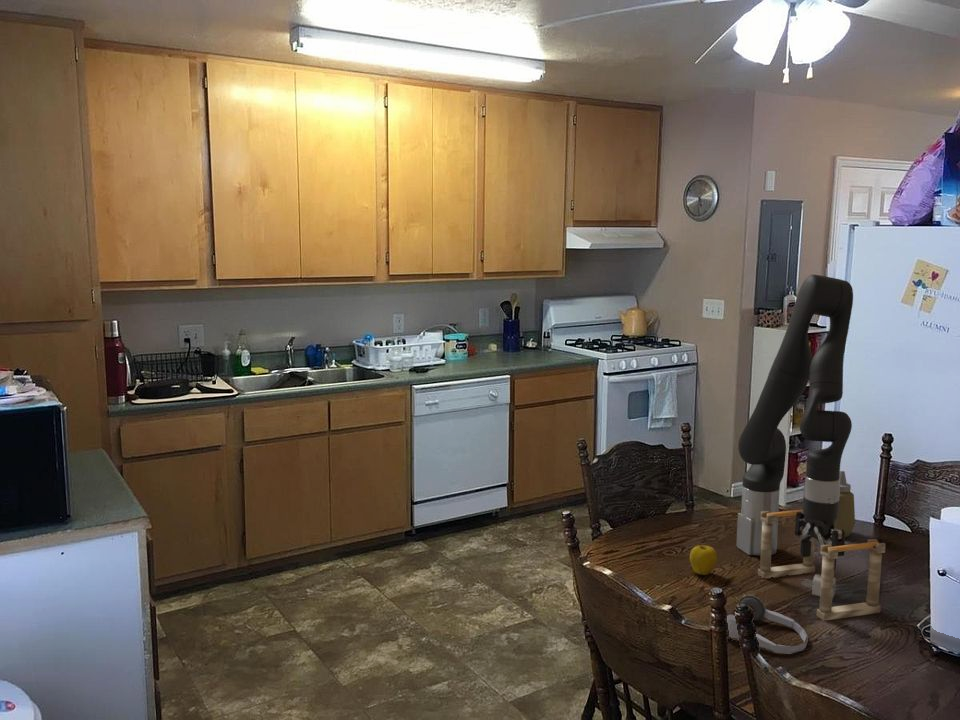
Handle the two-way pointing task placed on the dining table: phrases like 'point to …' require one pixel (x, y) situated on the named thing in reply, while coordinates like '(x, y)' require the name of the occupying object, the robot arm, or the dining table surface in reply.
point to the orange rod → (854, 546)
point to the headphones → (770, 615)
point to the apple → (703, 559)
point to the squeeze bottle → (845, 507)
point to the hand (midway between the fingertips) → (817, 563)
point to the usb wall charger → (817, 585)
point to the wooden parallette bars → (824, 574)
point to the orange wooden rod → (785, 513)
